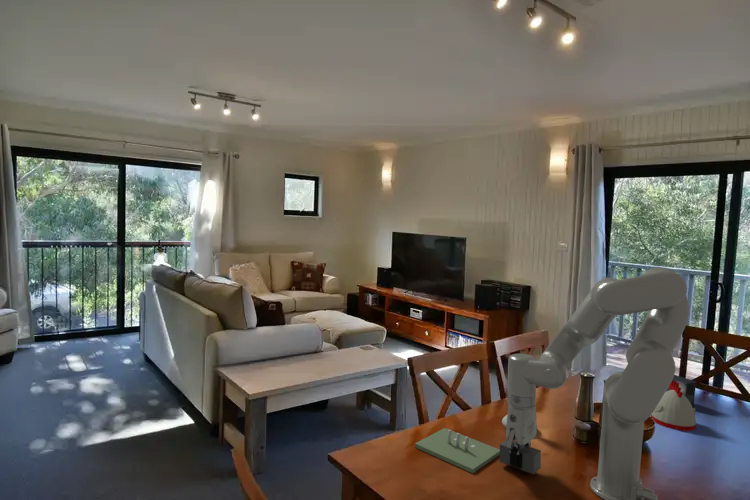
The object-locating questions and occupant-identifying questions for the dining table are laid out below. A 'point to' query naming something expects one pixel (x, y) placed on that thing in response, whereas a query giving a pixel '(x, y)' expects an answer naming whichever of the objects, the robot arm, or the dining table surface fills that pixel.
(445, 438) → the board
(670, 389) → the kitchen timer
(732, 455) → the dining table surface
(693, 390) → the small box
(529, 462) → the plug housing
